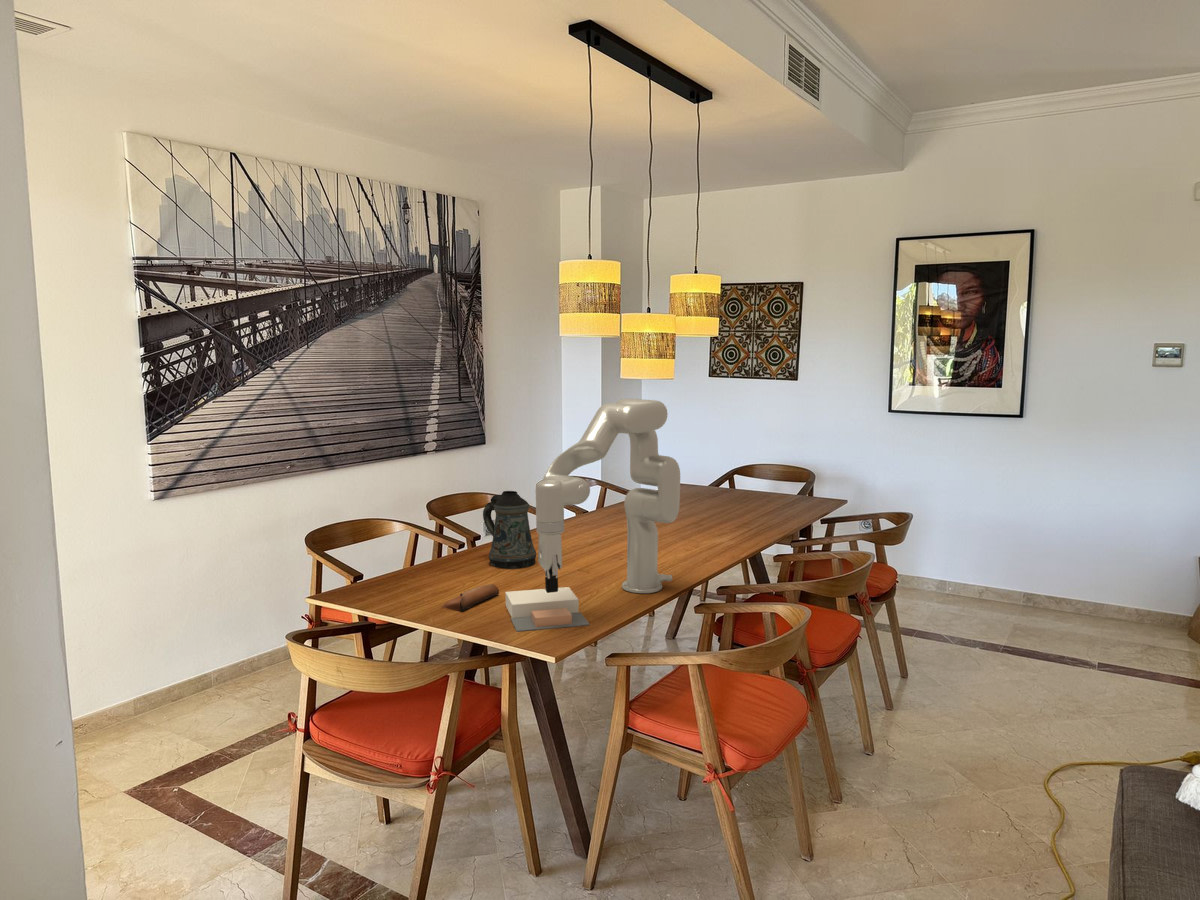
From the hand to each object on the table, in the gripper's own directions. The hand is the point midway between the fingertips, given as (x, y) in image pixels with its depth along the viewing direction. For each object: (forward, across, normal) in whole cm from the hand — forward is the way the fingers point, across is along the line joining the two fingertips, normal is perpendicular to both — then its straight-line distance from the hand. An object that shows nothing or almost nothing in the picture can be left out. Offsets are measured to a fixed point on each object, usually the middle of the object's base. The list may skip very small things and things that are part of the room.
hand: (551, 591), depth 222 cm
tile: (+7, 0, 0) cm, 7 cm away
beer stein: (+10, -62, -2) cm, 63 cm away
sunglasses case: (+9, -23, -20) cm, 32 cm away
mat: (+9, 0, -1) cm, 9 cm away
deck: (+9, -12, -1) cm, 15 cm away
